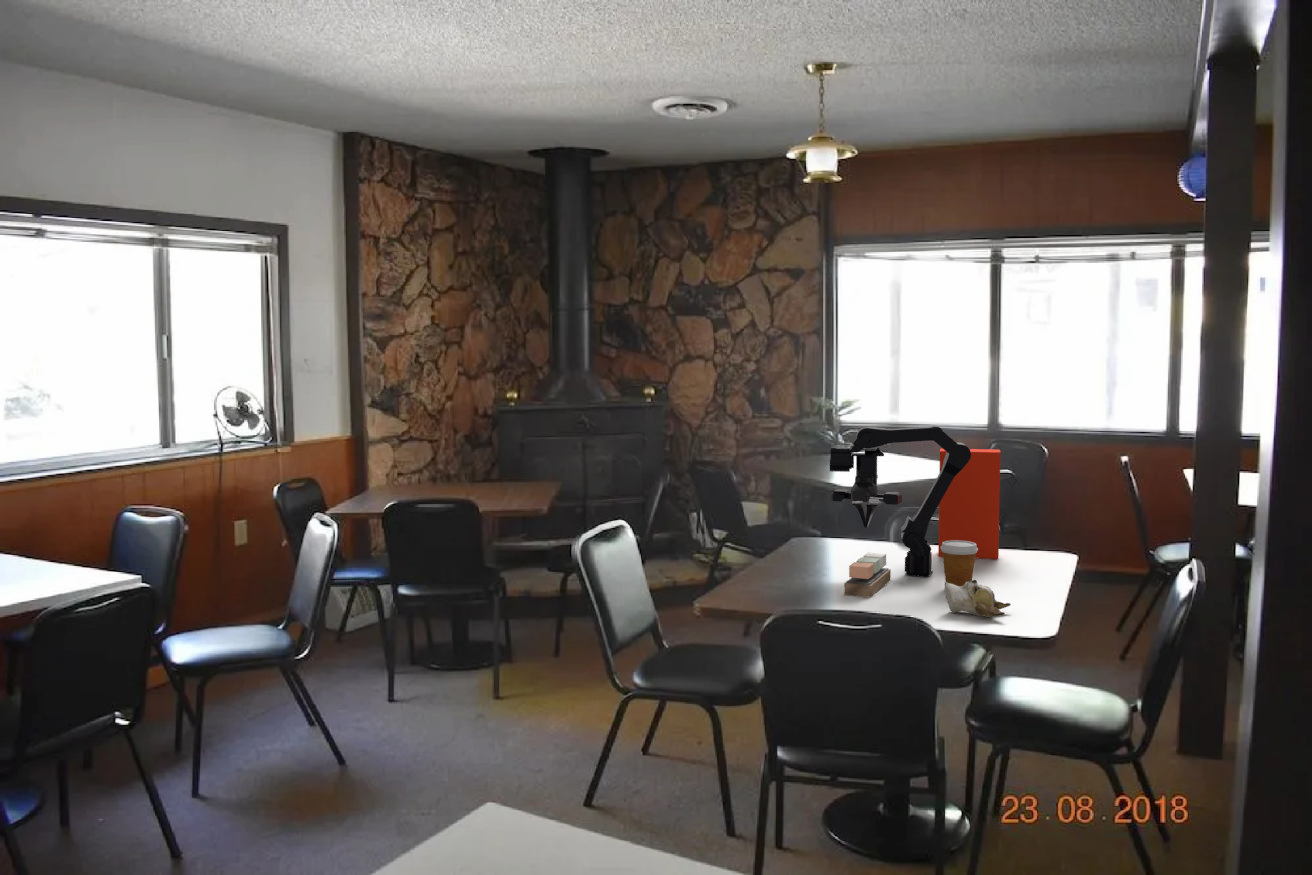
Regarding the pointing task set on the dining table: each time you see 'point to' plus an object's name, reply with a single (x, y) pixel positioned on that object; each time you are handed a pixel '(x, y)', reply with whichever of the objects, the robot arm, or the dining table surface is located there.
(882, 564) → the key white
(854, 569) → the key terracotta
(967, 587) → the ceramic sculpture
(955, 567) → the disposable coffee cup
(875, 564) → the key sage
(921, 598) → the dining table surface
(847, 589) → the key panel
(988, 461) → the file binder
